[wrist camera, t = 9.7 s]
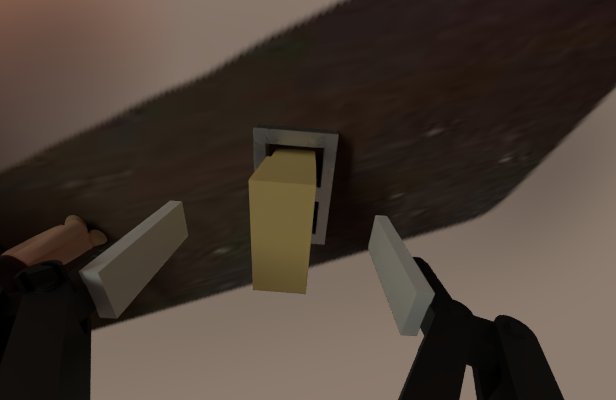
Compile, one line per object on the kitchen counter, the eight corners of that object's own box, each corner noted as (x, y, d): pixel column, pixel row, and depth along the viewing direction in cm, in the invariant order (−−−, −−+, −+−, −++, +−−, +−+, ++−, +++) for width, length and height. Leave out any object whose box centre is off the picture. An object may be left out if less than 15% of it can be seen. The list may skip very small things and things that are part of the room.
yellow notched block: (275, 217, 24) (253, 289, 15) (277, 142, 21) (248, 179, 12) (309, 219, 24) (305, 293, 15) (315, 145, 21) (316, 185, 12)
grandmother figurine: (120, 235, 26) (-33, 346, 15) (110, 255, 27) (-37, 372, 16) (49, 197, 24) (-190, 290, 13) (42, 221, 26) (-180, 325, 14)
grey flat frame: (260, 227, 25) (256, 239, 23) (258, 124, 20) (253, 127, 18) (323, 232, 25) (324, 244, 23) (336, 130, 20) (338, 134, 18)
